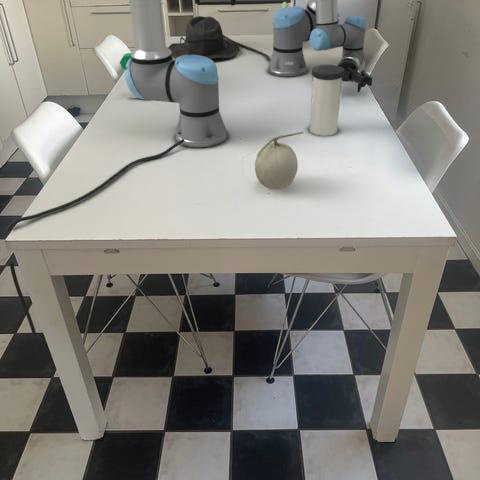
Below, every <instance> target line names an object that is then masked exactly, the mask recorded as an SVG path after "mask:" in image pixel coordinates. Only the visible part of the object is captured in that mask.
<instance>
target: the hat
mask: <svg viewBox="0 0 480 480" xmlns="http://www.w3.org/2000/svg"><path fill="white" fill-rule="evenodd" d="M223 35H224V34H223V29H222V26H221V23H220V22H219V20H217V19H216V18H214V16H213V17H212V16H201V15H198V16H194V17H193V18H190V19H189V20H188V21H187V24H186V28H185V38H184V37H183V36H180V41H179V43H178V42H176V43H173V42H172V43H170V44H169V46H167V47H168V48H169V49H170V50H171V51H172V58H175V59H176V58H177V57H179V56H182V55H200V56H204V57H207V58H209V59H211V60H213V59H214V60H215V59H231V58H233V57H234V56H236V54H237V53H238V50H240V49H241V48H240V47H241V46H239V45H237V44H235V43H233V42H231V41H229V40H227V39H225V38H224V37H223ZM182 40H183V42H182Z"/></svg>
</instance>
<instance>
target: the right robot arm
mask: <svg viewBox="0 0 480 480" xmlns="http://www.w3.org/2000/svg"><path fill="white" fill-rule="evenodd" d="M339 16H340V15H339V12H338V0H308V1H307V4H306V8H304V7H303V6H300V5H292V6H288V7H285V8H282V9H280V8H279V9H278V10H277V11H275V12H274V15H273V22H272V26H273V30H272V31H273V32H272V33H273V35H272V36H273V39H272V54H271V57H270V56H269V55H268V54H266V53H264V52H262V51H260V50H257V49H255V48H252V47H250V46H248V45H244V44H242V43H240V42H238V41H235V40H234V39H231V38H229V37H227V36H225V34H223V38H224V39H225V40H227V41H229V42H231V43H234V44H236V45H237V46H239V47H242V48H245V49H247V50H250V51H251V52H254V53H257V54H259V55H261V56H263V57H265V58H266V59H267V61H269V62H268V67H267V69H268V70H267V72H268V73H269V74H271V75H273V76H277V77H285V78H287V77H288V78H289V77H292V78H293V77H299V76H302V75H304V74H306V72H307V63H306V60H305V56H304V51H303V50H304V42H309V44H310V46H311V48H312V50H314V51H316V52H321V51H322V52H323V51H328V50H333V49H337V48H341V47H342V53H341V59H340V61H339V62H338V64H337V66H340V67H342V68H344V76H343V77H342V82H355V83H357V88H356V93H360V92H361V89H362V88H366V86H369V87H371V86H372V84H373V77H372V76H371V75H370V74H368V73H367V72H366V69H362V70H360V68H361V67H362V64H363V63H364V57H365V56H364V45H365V36H366V30H367V29H366V28H367V27H366V26H367V19H366V17H365V16H363V15H359V14H352V15H348V16H346V17H345V18H344V21H343V22H344V23H340V24H339V22H340V19H339ZM359 70H360V71H359ZM311 77H312V78H311V81H312V82H313V76H312V75H311Z"/></svg>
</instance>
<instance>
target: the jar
mask: <svg viewBox="0 0 480 480" xmlns="http://www.w3.org/2000/svg"><path fill="white" fill-rule="evenodd" d="M311 84H312V87H311V102H310V103H311V104H310V120H309V132H310V133H311V134H313V135H316V136H322V137H325V136H332V135H335V134H337V133H338V127H339V116H340V115H339V114H340V106H341V105H340V104H341V96H342V95H341V93H342V84H343V81H342V78H339V79H334V80H323V79H318V78H315V77H313V81H312V83H311Z"/></svg>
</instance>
